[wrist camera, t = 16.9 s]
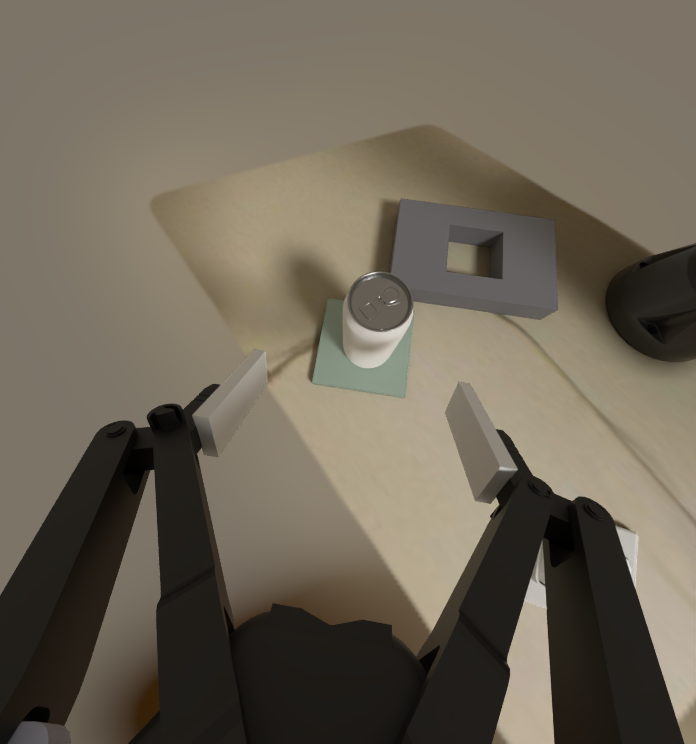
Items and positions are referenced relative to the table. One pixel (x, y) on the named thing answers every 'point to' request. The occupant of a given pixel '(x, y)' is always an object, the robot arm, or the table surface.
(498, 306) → the block
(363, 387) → the mat
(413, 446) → the table surface
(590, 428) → the table surface
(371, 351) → the can
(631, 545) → the light switch
